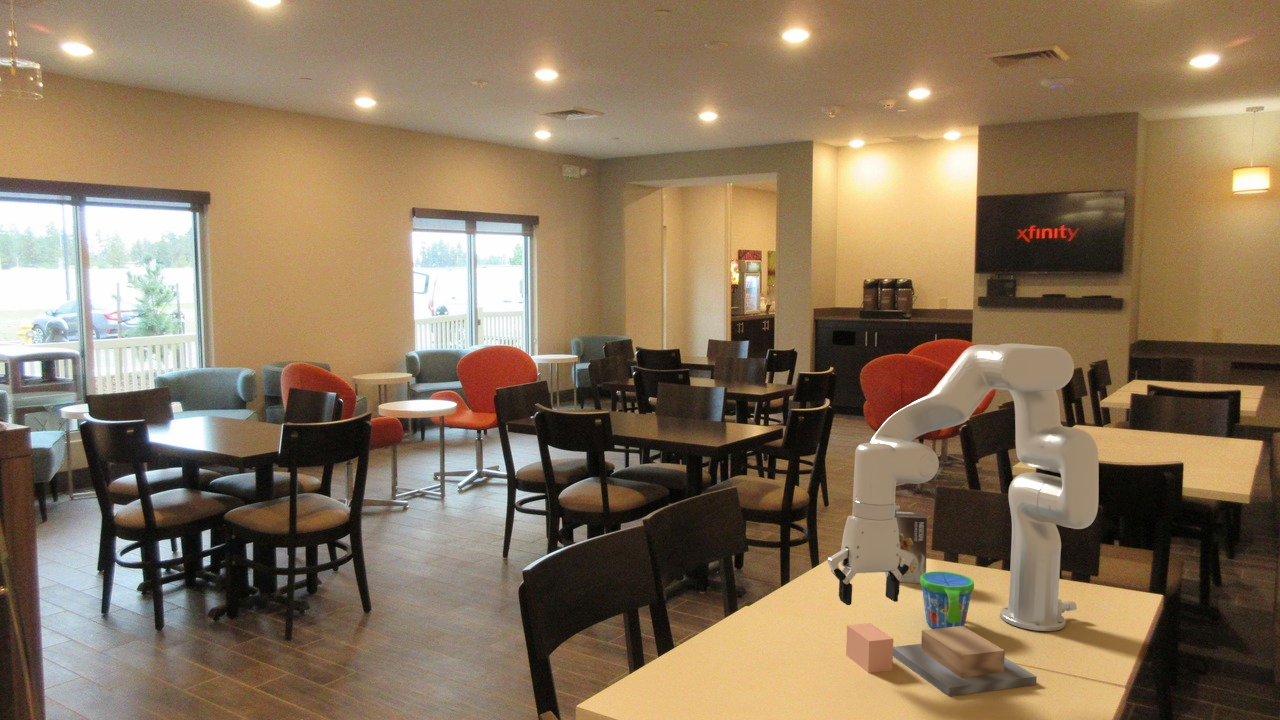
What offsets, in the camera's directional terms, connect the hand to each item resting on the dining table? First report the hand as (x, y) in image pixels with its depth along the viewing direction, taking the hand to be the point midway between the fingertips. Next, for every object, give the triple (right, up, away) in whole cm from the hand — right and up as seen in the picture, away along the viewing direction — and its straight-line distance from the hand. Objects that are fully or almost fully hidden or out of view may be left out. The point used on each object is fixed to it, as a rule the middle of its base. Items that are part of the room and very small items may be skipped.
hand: (868, 601), depth 164 cm
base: (+17, -12, -1) cm, 21 cm away
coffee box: (+22, -8, +50) cm, 55 cm away
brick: (0, -12, +1) cm, 12 cm away
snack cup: (+21, -11, +20) cm, 31 cm away
